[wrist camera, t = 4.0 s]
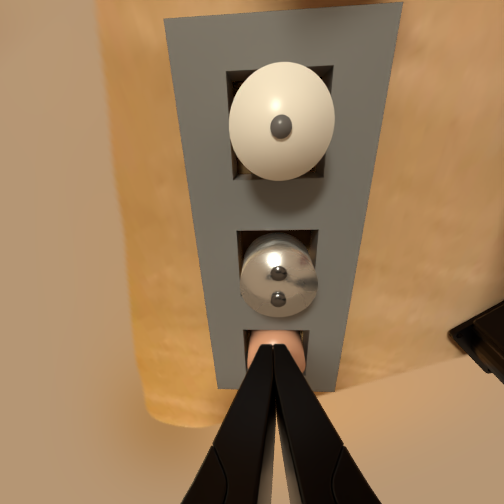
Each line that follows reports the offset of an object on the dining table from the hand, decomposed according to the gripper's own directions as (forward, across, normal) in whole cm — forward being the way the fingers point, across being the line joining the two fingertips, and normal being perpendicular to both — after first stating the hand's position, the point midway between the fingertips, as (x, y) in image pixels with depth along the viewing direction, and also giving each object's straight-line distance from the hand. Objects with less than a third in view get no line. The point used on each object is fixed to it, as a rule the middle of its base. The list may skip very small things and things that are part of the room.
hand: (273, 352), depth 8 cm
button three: (+10, 0, +9) cm, 13 cm away
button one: (+8, -1, -7) cm, 11 cm away
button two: (+8, 0, +1) cm, 8 cm away
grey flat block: (+10, 0, +1) cm, 10 cm away
